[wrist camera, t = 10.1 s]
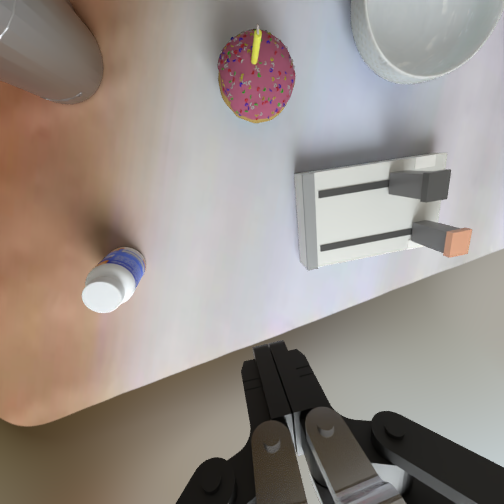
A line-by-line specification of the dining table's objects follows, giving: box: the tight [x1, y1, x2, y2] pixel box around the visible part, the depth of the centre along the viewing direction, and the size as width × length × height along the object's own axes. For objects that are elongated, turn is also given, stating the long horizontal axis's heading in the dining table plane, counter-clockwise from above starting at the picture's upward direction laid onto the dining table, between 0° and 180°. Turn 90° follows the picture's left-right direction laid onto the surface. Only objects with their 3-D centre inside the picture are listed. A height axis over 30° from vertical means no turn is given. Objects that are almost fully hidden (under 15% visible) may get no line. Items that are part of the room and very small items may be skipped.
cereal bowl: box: [351, 0, 504, 84], centre depth 29 cm, size 17×17×7 cm
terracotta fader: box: [411, 220, 472, 257], centre depth 36 cm, size 3×3×7 cm
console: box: [294, 153, 447, 270], centre depth 38 cm, size 14×22×3 cm, turn 97°
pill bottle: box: [82, 247, 146, 313], centre depth 32 cm, size 5×5×10 cm
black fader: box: [389, 169, 451, 203], centre depth 33 cm, size 3×3×7 cm
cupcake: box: [218, 24, 295, 123], centre depth 26 cm, size 9×8×12 cm
